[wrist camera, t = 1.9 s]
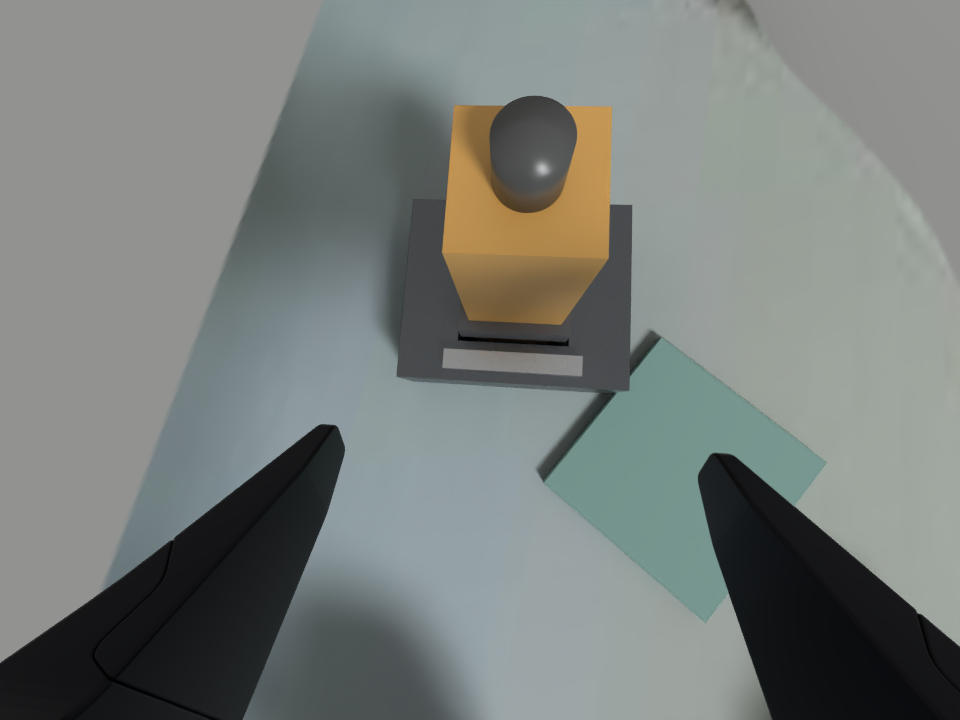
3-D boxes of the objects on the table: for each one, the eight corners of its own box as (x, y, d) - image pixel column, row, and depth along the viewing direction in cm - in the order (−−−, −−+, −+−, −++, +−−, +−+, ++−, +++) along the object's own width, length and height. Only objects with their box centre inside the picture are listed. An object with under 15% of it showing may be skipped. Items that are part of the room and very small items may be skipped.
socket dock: (609, 393, 22) (633, 390, 18) (412, 380, 22) (393, 375, 18) (612, 235, 23) (636, 199, 19) (426, 229, 24) (410, 192, 20)
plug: (555, 352, 22) (653, 251, 8) (468, 347, 23) (406, 242, 8) (558, 268, 23) (654, 31, 8) (473, 265, 23) (426, 32, 9)
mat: (699, 616, 20) (705, 623, 19) (542, 480, 21) (543, 483, 21) (817, 460, 20) (826, 462, 20) (657, 339, 22) (661, 337, 21)
